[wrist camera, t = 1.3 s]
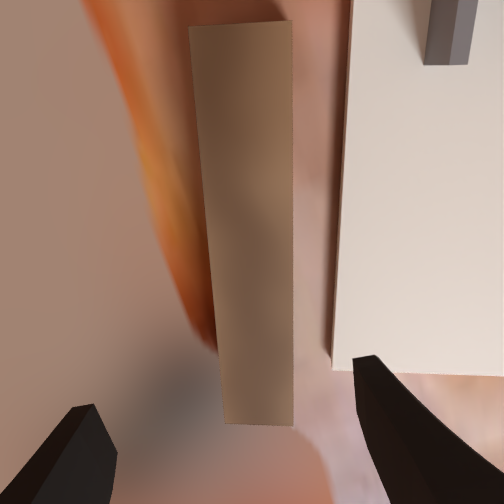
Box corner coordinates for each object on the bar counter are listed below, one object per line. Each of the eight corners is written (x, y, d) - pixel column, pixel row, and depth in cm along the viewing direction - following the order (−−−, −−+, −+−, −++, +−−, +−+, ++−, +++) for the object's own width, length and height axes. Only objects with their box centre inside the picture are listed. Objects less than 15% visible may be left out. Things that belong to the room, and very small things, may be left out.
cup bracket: (720, -156, 14) (870, -234, 10) (549, 365, 23) (598, 422, 19) (357, -127, 15) (378, -188, 11) (330, 358, 24) (337, 410, 20)
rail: (292, 31, 18) (292, 20, 14) (293, 367, 25) (293, 426, 21) (211, 35, 18) (187, 26, 14) (236, 365, 25) (224, 423, 21)
